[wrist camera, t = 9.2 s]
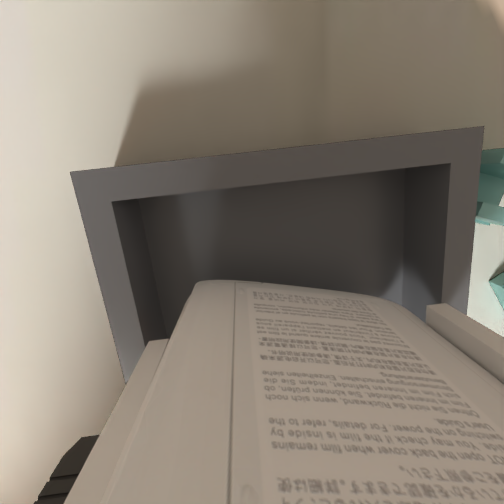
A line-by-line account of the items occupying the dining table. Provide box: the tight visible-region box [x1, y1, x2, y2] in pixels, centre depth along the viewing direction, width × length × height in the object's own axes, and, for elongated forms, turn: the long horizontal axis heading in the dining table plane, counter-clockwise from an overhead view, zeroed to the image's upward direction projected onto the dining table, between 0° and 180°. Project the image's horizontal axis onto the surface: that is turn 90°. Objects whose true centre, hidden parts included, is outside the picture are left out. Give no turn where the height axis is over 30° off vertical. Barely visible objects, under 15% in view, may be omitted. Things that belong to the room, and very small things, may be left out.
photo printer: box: [100, 280, 504, 504], centre depth 8 cm, size 10×4×12 cm, turn 82°
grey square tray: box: [70, 126, 484, 384], centre depth 14 cm, size 15×15×4 cm
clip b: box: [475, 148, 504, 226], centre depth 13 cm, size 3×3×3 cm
